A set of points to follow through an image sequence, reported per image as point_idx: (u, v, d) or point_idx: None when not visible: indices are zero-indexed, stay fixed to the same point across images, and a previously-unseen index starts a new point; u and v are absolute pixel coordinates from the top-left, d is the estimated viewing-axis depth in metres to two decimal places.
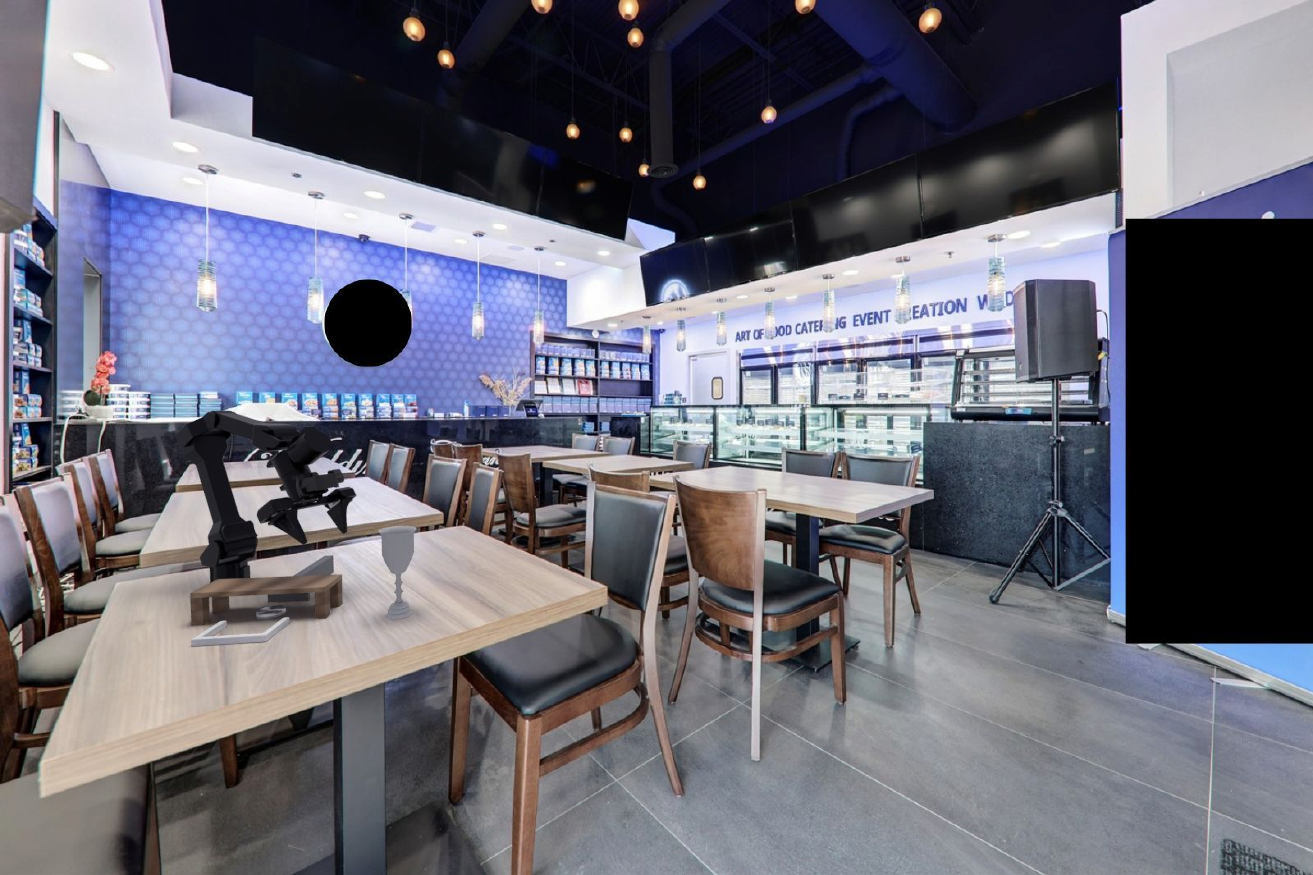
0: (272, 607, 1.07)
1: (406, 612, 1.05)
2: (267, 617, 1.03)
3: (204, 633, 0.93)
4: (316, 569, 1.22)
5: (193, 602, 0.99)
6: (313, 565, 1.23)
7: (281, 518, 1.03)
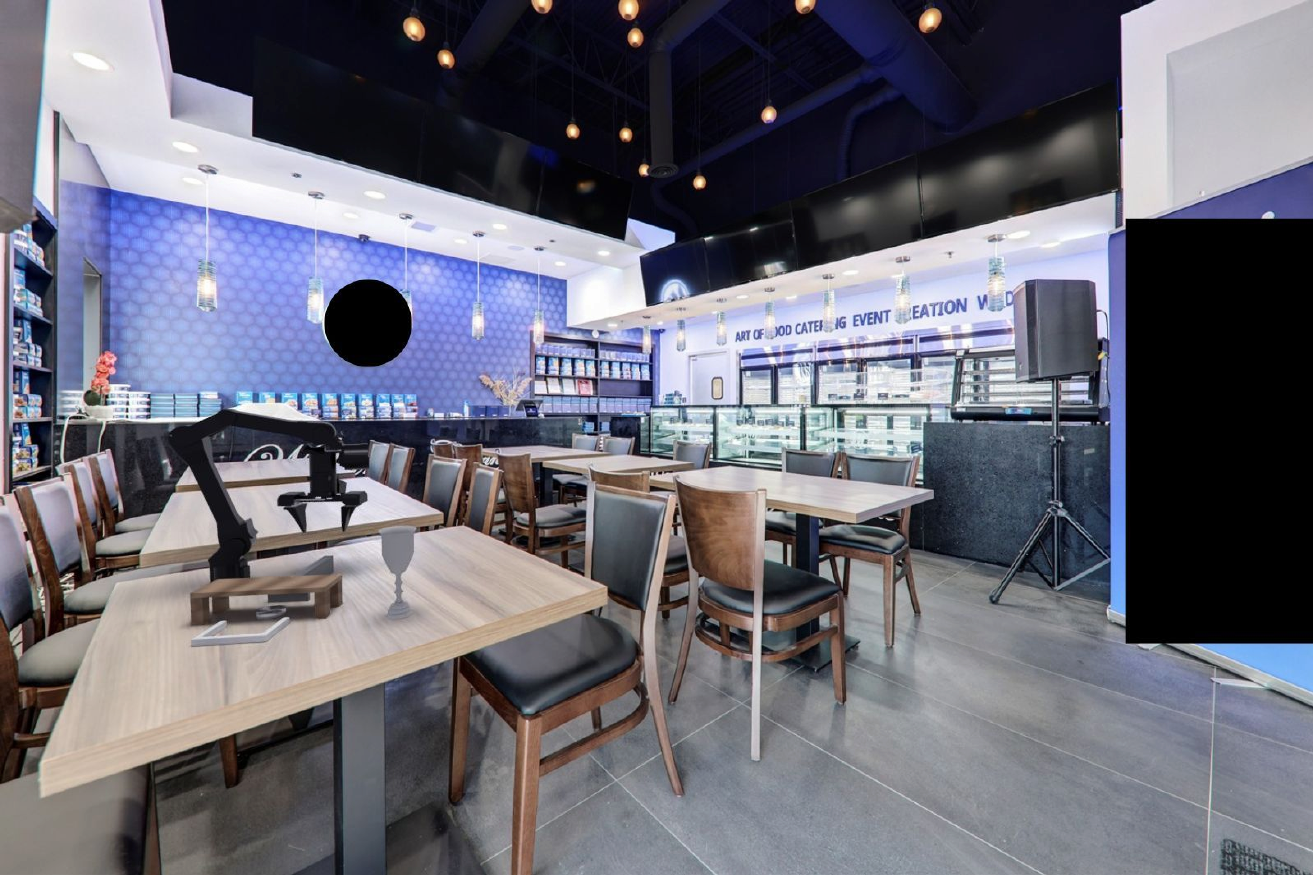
0: (272, 607, 1.07)
1: (406, 612, 1.05)
2: (267, 617, 1.03)
3: (204, 633, 0.93)
4: (316, 569, 1.22)
5: (193, 602, 0.99)
6: (313, 565, 1.23)
7: None
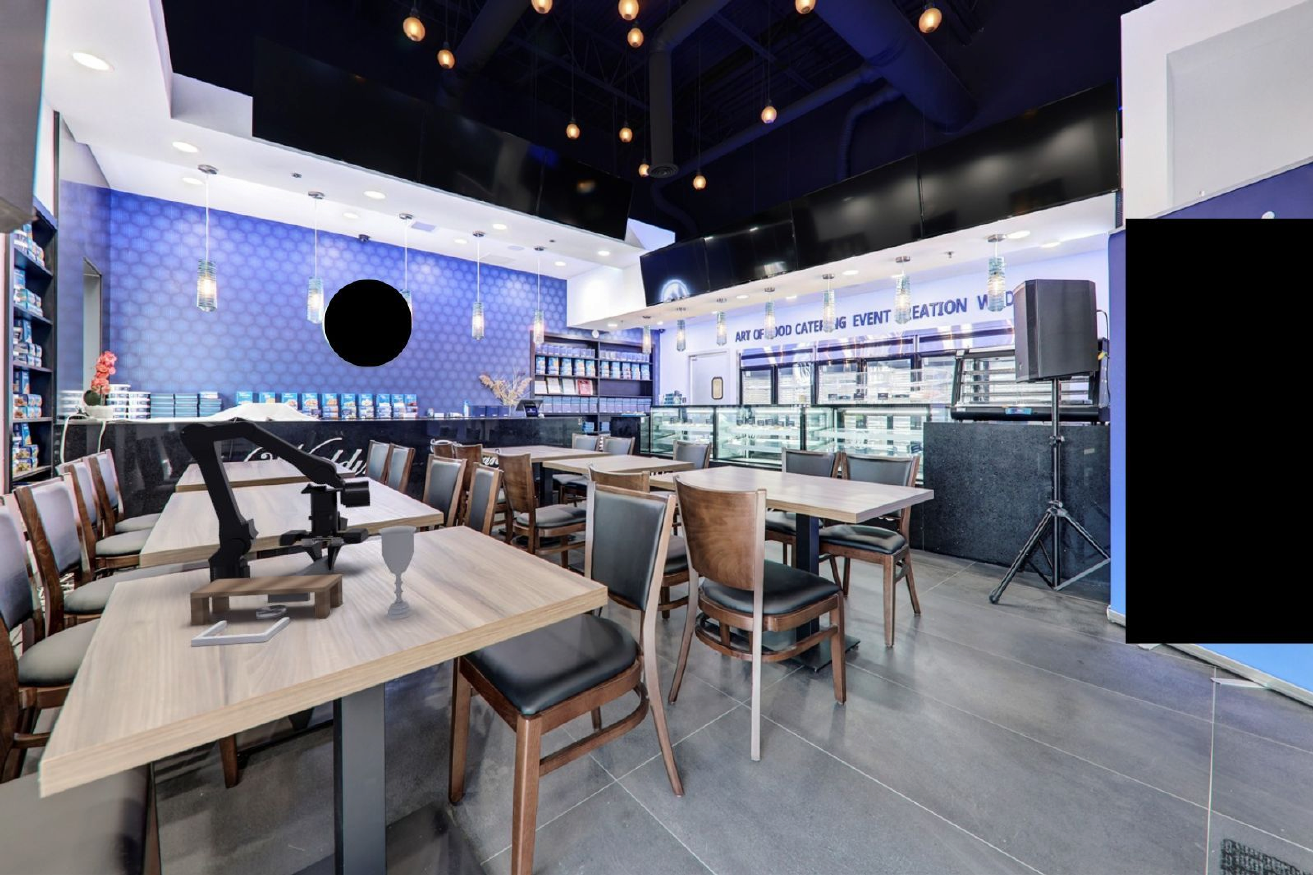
0: (272, 606, 1.07)
1: (406, 612, 1.05)
2: (267, 617, 1.03)
3: (204, 633, 0.93)
4: (316, 569, 1.22)
5: (193, 602, 0.99)
6: (313, 564, 1.23)
7: None
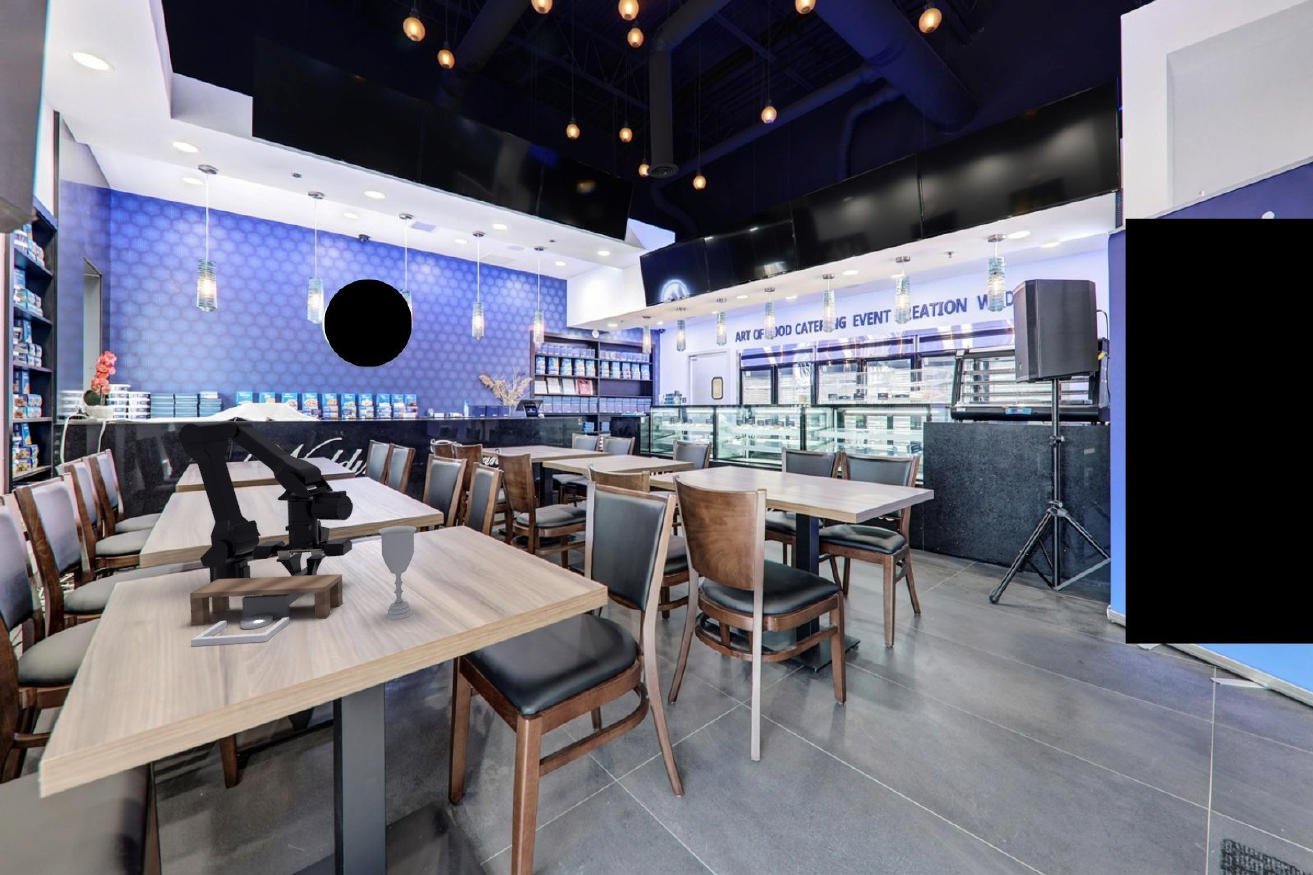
0: (257, 615, 1.02)
1: (406, 612, 1.05)
2: (253, 626, 0.98)
3: (204, 633, 0.93)
4: None
5: (193, 602, 0.99)
6: None
7: None
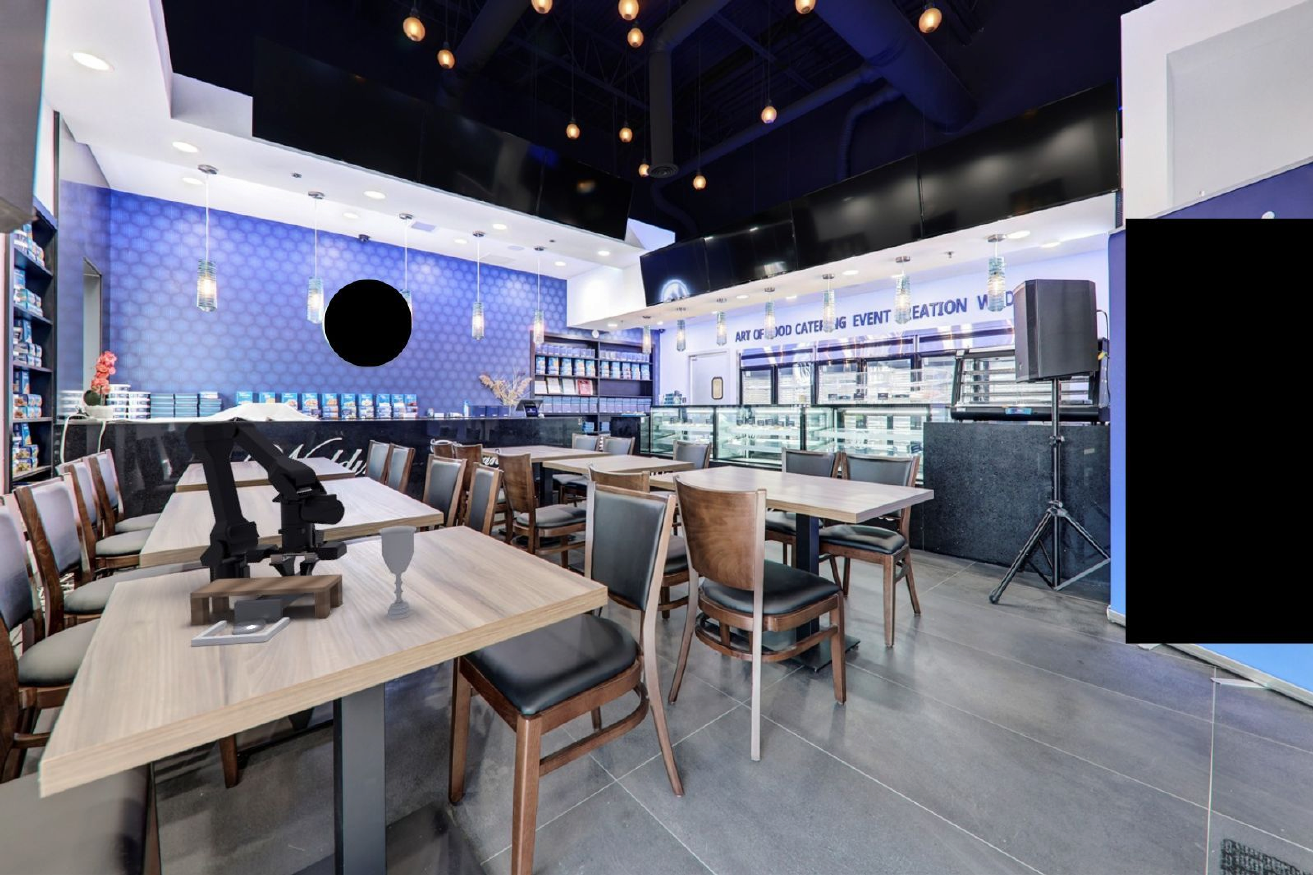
0: (249, 621, 0.99)
1: (406, 612, 1.05)
2: (246, 632, 0.96)
3: (204, 633, 0.93)
4: None
5: (193, 602, 0.99)
6: None
7: None
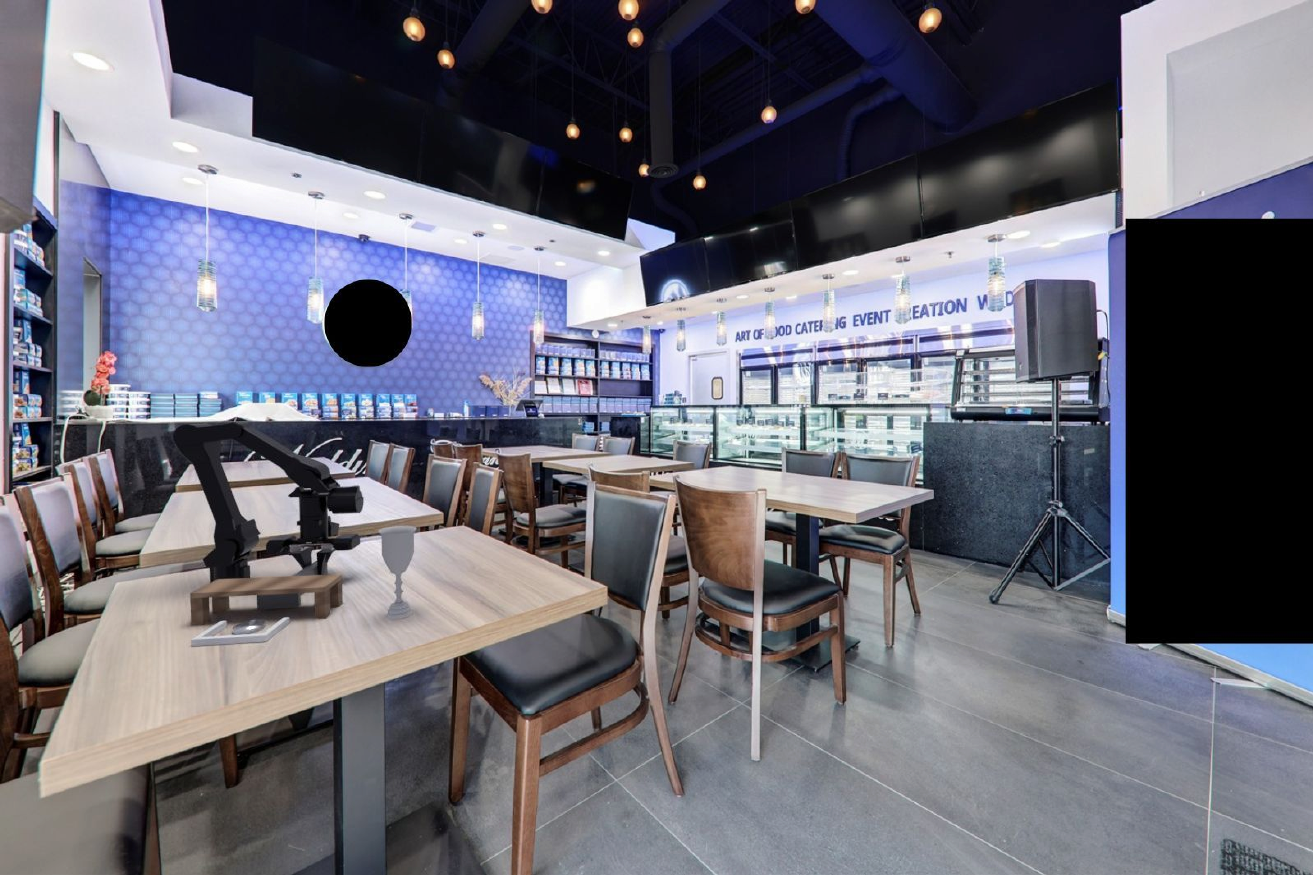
0: (249, 621, 0.99)
1: (406, 612, 1.05)
2: (246, 633, 0.96)
3: (204, 633, 0.93)
4: (308, 574, 1.19)
5: (193, 602, 0.99)
6: (305, 569, 1.19)
7: None
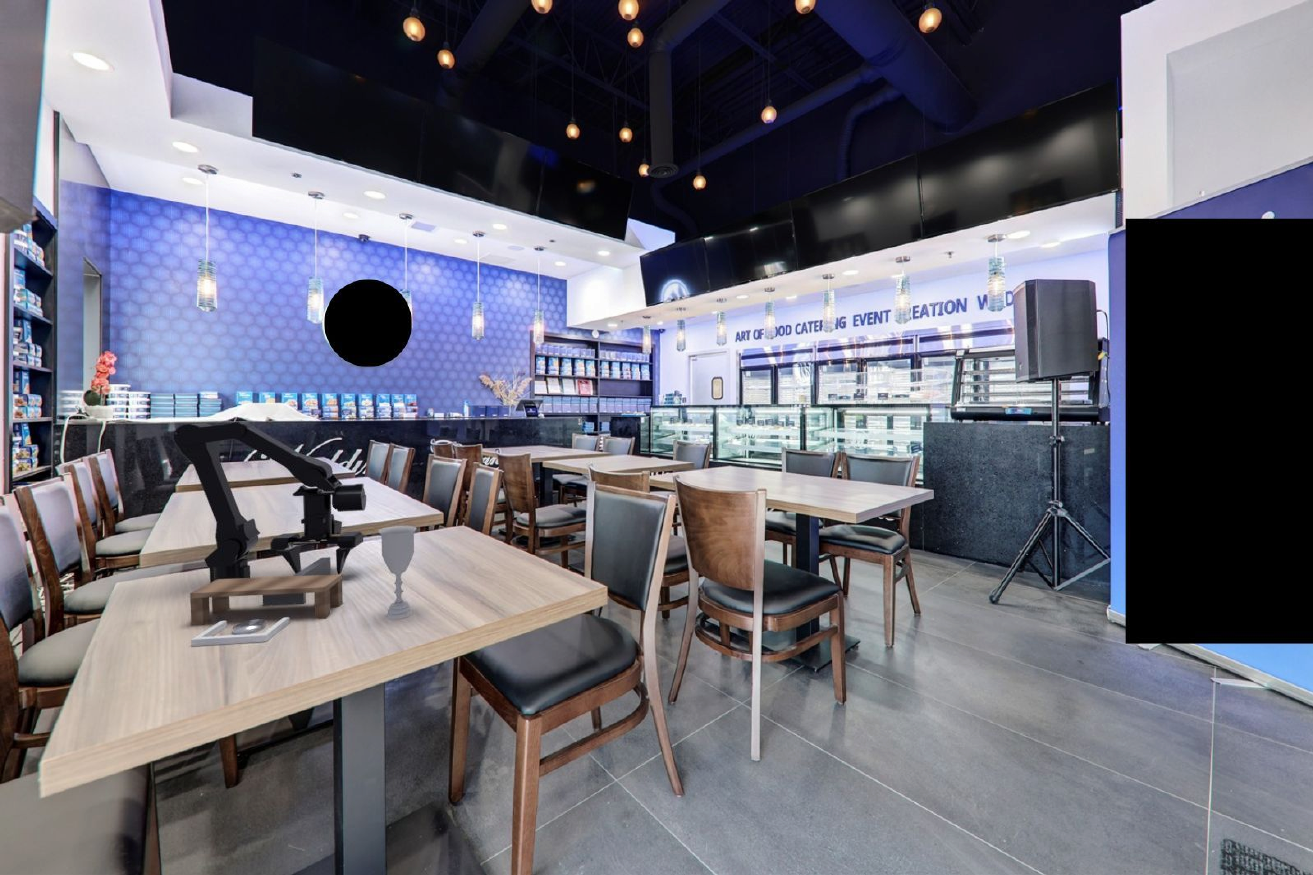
0: (249, 621, 0.99)
1: (406, 612, 1.05)
2: (246, 633, 0.96)
3: (204, 633, 0.93)
4: (312, 572, 1.21)
5: (193, 602, 0.99)
6: (309, 567, 1.21)
7: None
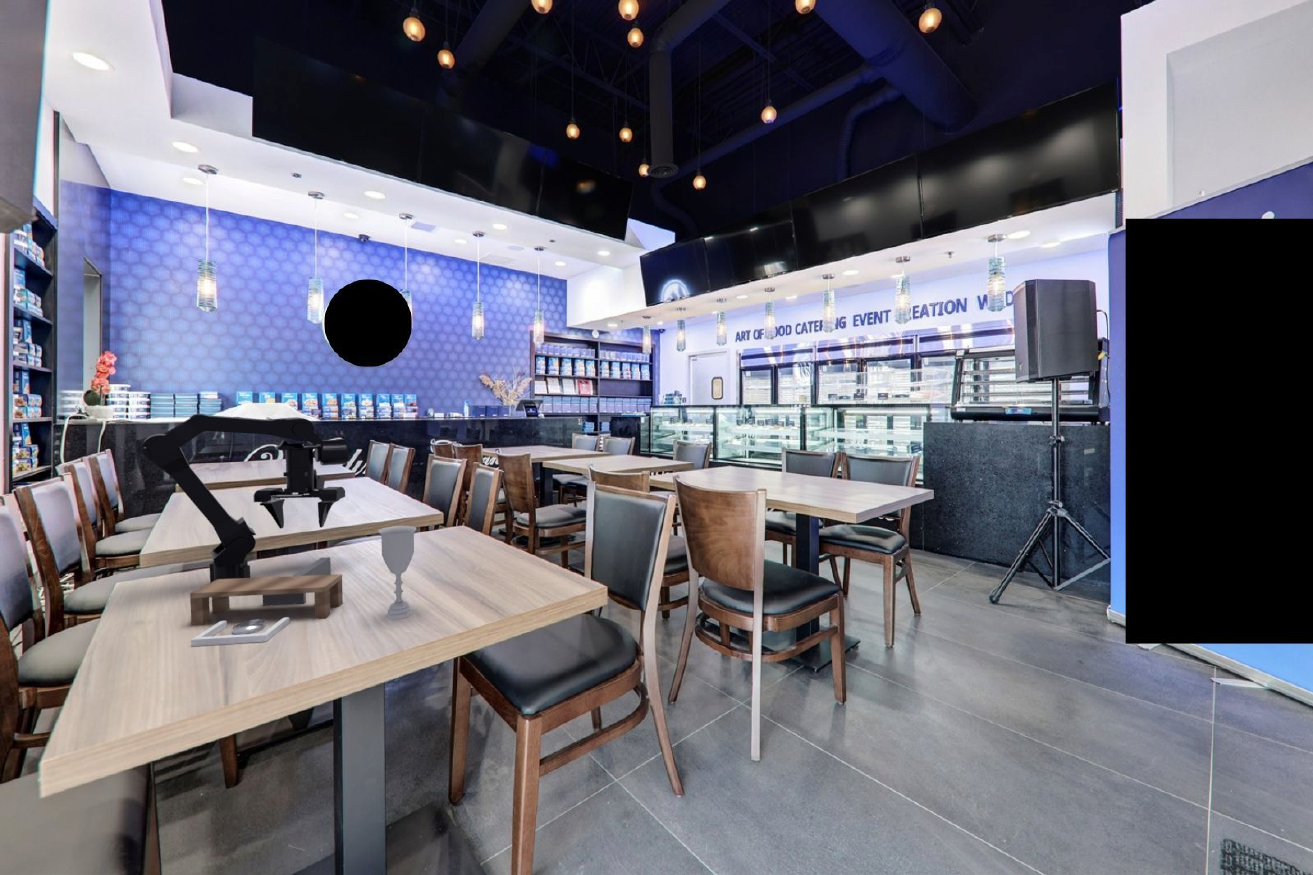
0: (249, 621, 0.99)
1: (406, 612, 1.05)
2: (246, 633, 0.96)
3: (204, 633, 0.93)
4: (312, 572, 1.21)
5: (193, 602, 0.99)
6: (309, 567, 1.21)
7: None
